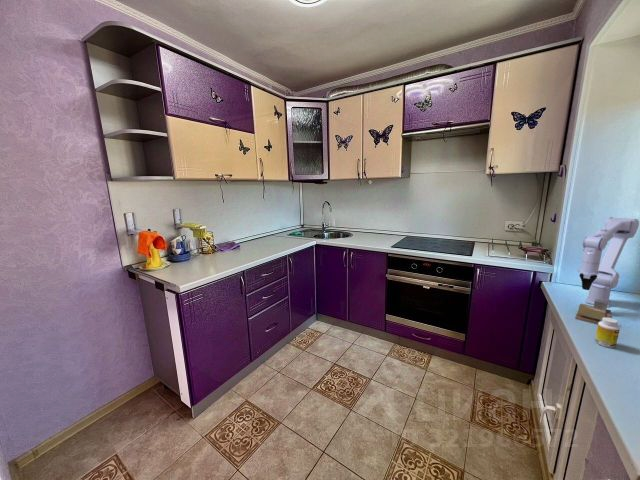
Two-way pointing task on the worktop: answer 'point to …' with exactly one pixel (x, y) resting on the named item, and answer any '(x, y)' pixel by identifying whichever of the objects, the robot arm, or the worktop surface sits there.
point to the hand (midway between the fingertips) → (585, 289)
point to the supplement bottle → (607, 332)
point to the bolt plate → (589, 319)
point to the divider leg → (591, 312)
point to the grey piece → (600, 305)
